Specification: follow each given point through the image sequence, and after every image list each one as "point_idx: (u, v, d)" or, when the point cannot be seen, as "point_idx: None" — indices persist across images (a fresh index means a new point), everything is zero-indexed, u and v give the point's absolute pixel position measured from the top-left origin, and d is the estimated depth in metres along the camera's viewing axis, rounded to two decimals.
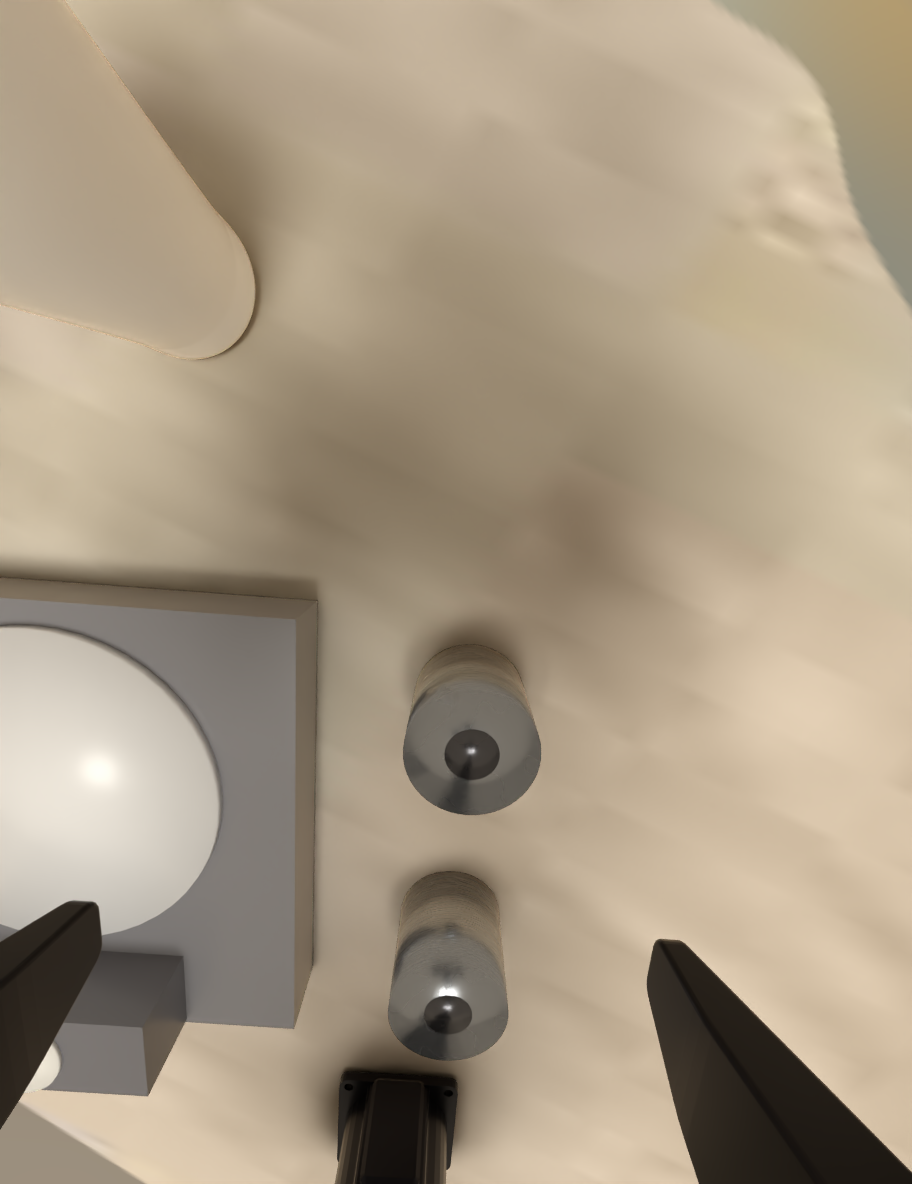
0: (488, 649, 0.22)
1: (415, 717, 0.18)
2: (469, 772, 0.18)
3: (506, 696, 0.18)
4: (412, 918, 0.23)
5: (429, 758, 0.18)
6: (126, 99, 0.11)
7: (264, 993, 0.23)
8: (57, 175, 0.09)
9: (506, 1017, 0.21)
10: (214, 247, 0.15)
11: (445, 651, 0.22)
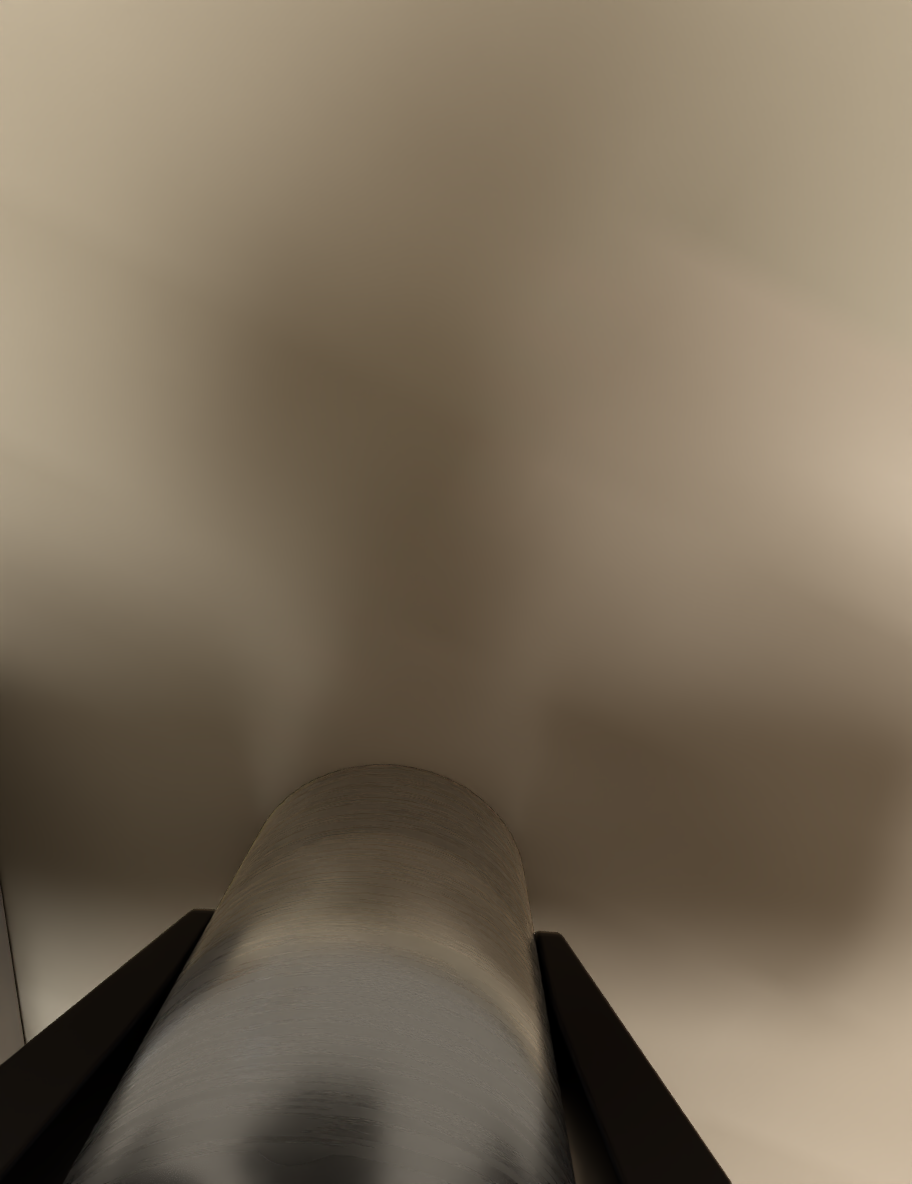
0: (429, 782, 0.08)
1: None
2: None
3: (450, 1144, 0.04)
4: None
5: None
6: None
7: None
8: None
9: None
10: None
11: (315, 787, 0.08)
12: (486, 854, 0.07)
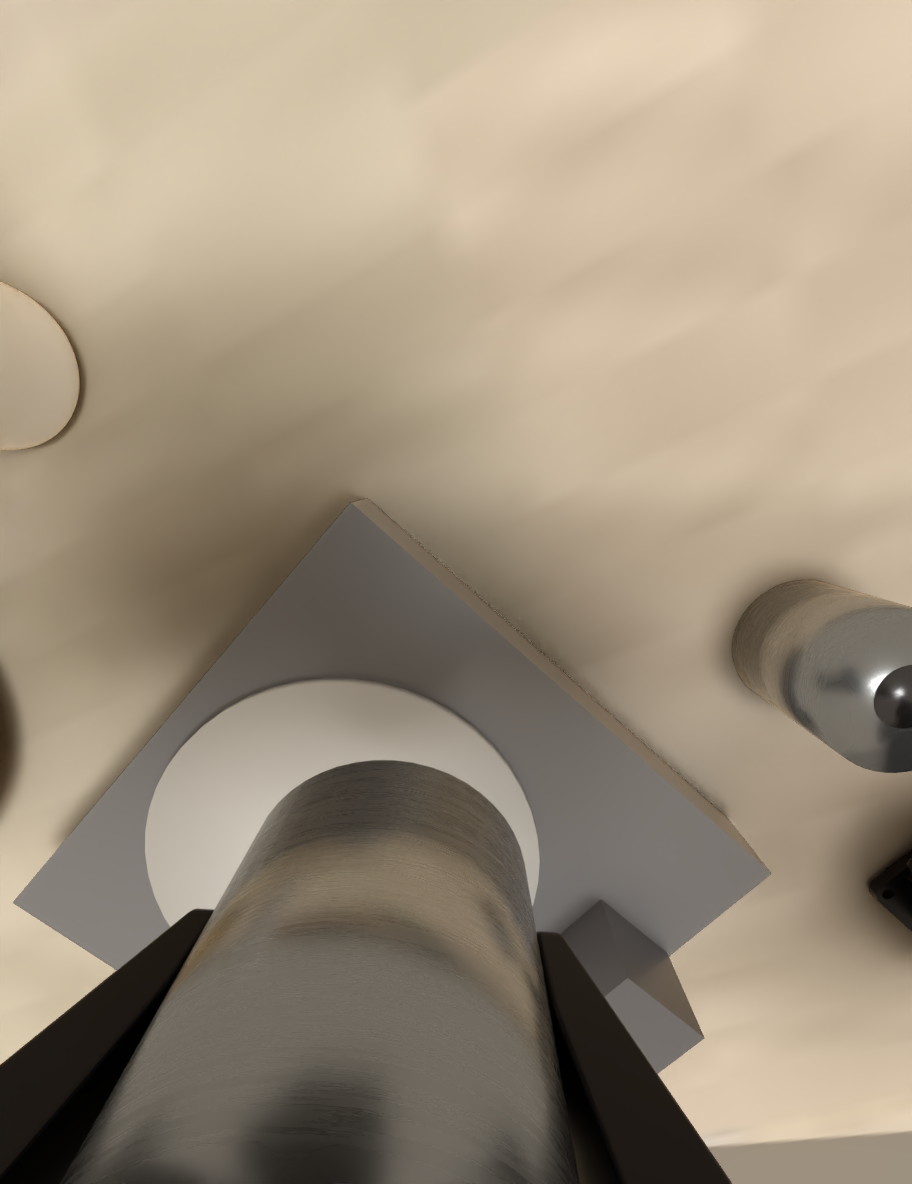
0: (431, 777, 0.08)
1: None
2: None
3: (452, 1135, 0.04)
4: (764, 668, 0.18)
5: None
6: None
7: (707, 865, 0.18)
8: None
9: None
10: None
11: (316, 782, 0.08)
12: (487, 848, 0.07)
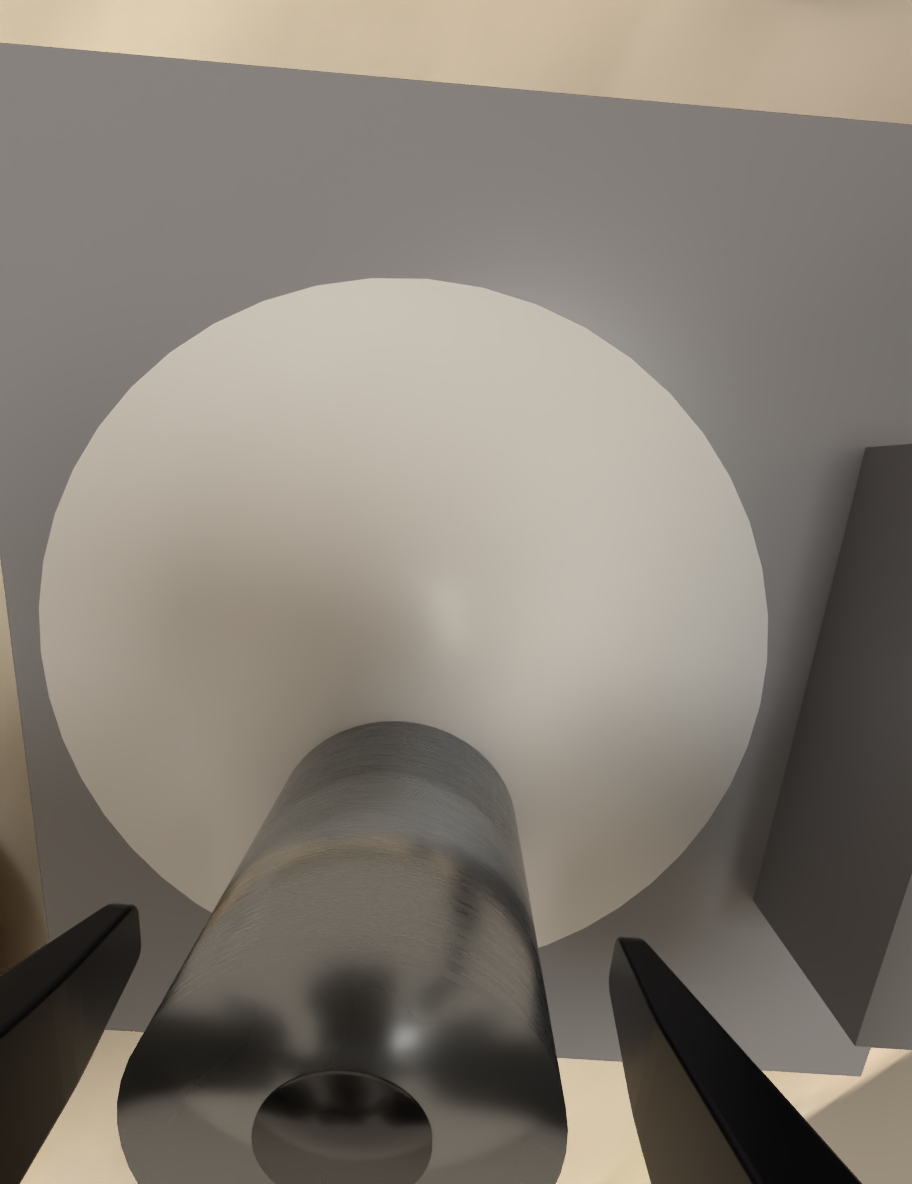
0: (434, 734, 0.10)
1: (146, 1032, 0.05)
2: (338, 1180, 0.06)
3: (453, 960, 0.05)
4: None
5: (207, 1146, 0.06)
6: None
7: None
8: None
9: None
10: None
11: (337, 739, 0.10)
12: (482, 791, 0.09)
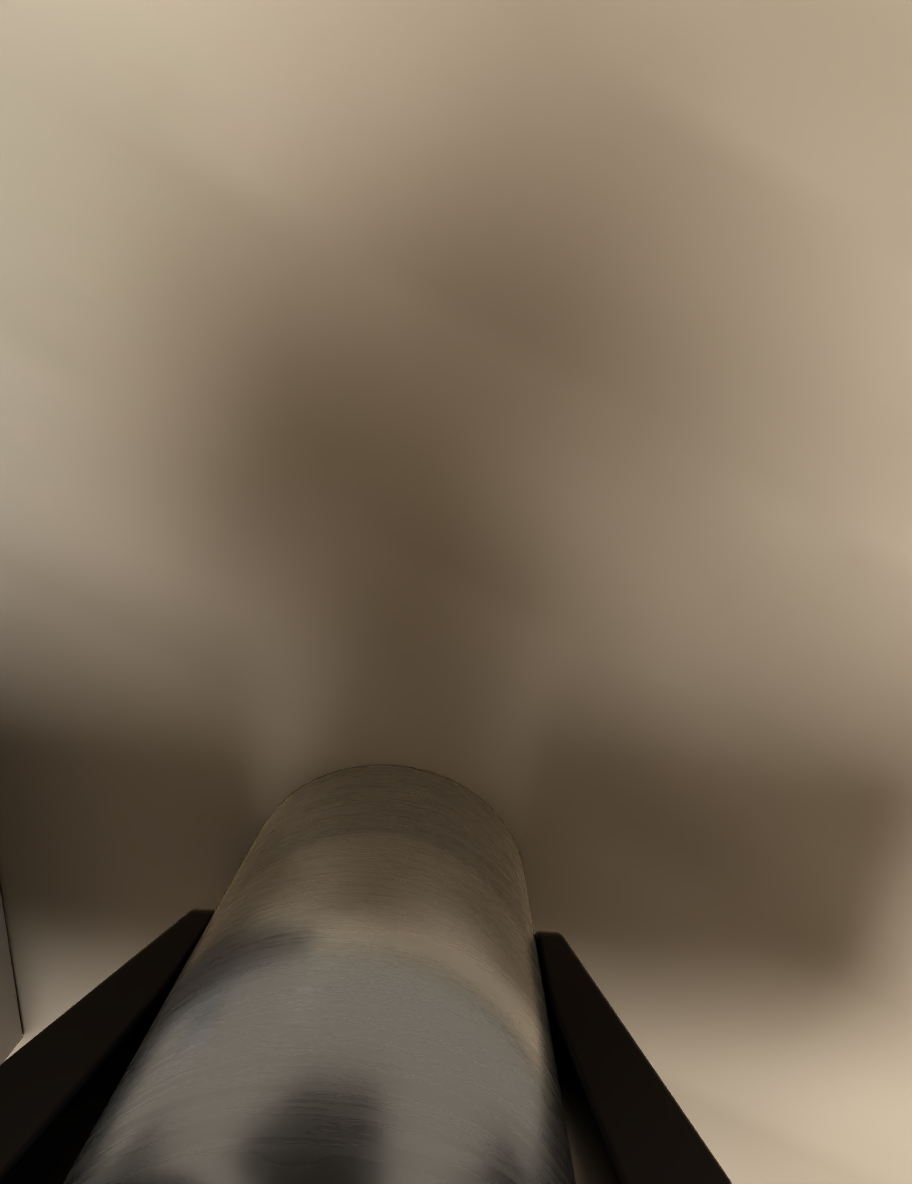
0: None
1: None
2: None
3: None
4: (229, 902, 0.07)
5: None
6: None
7: None
8: None
9: None
10: None
11: None
12: None
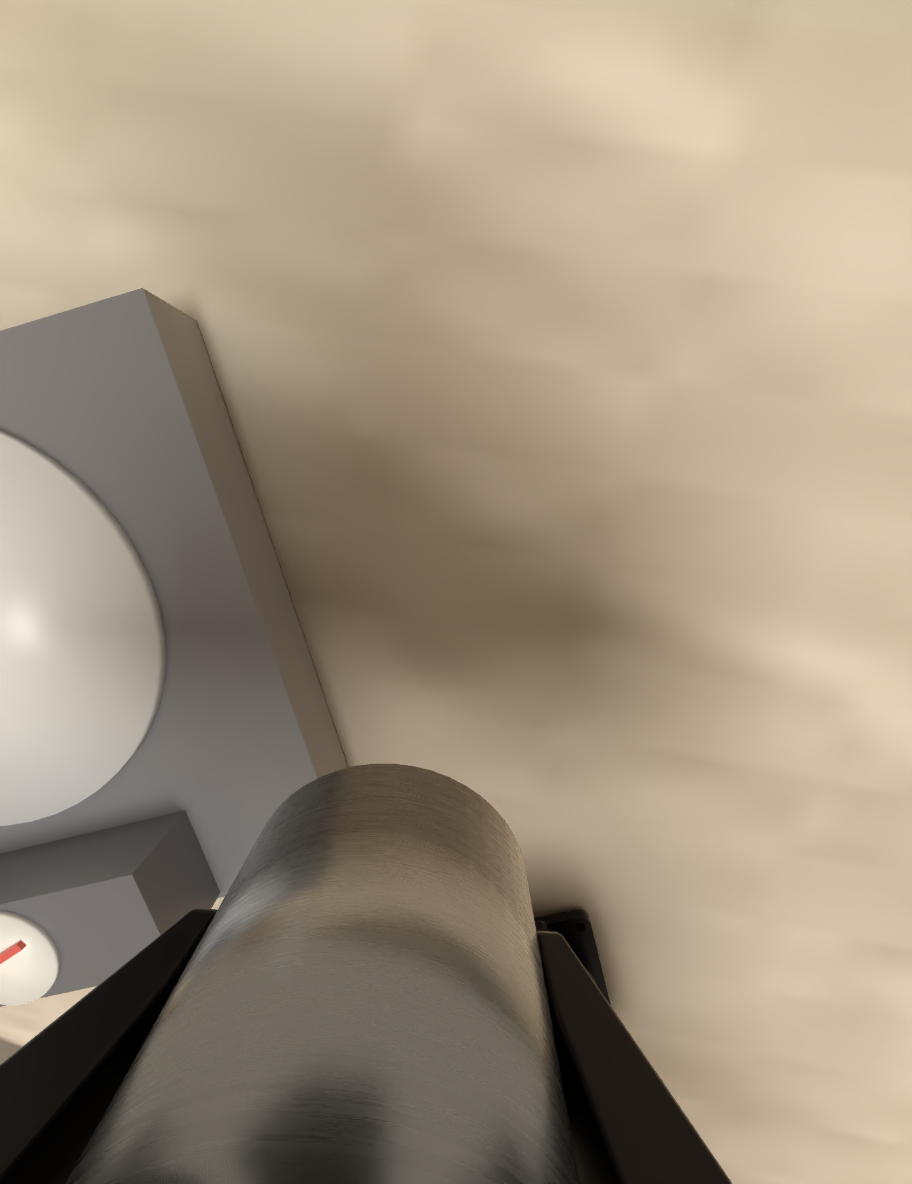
0: None
1: None
2: None
3: None
4: (231, 901, 0.07)
5: None
6: None
7: None
8: None
9: None
10: None
11: None
12: None
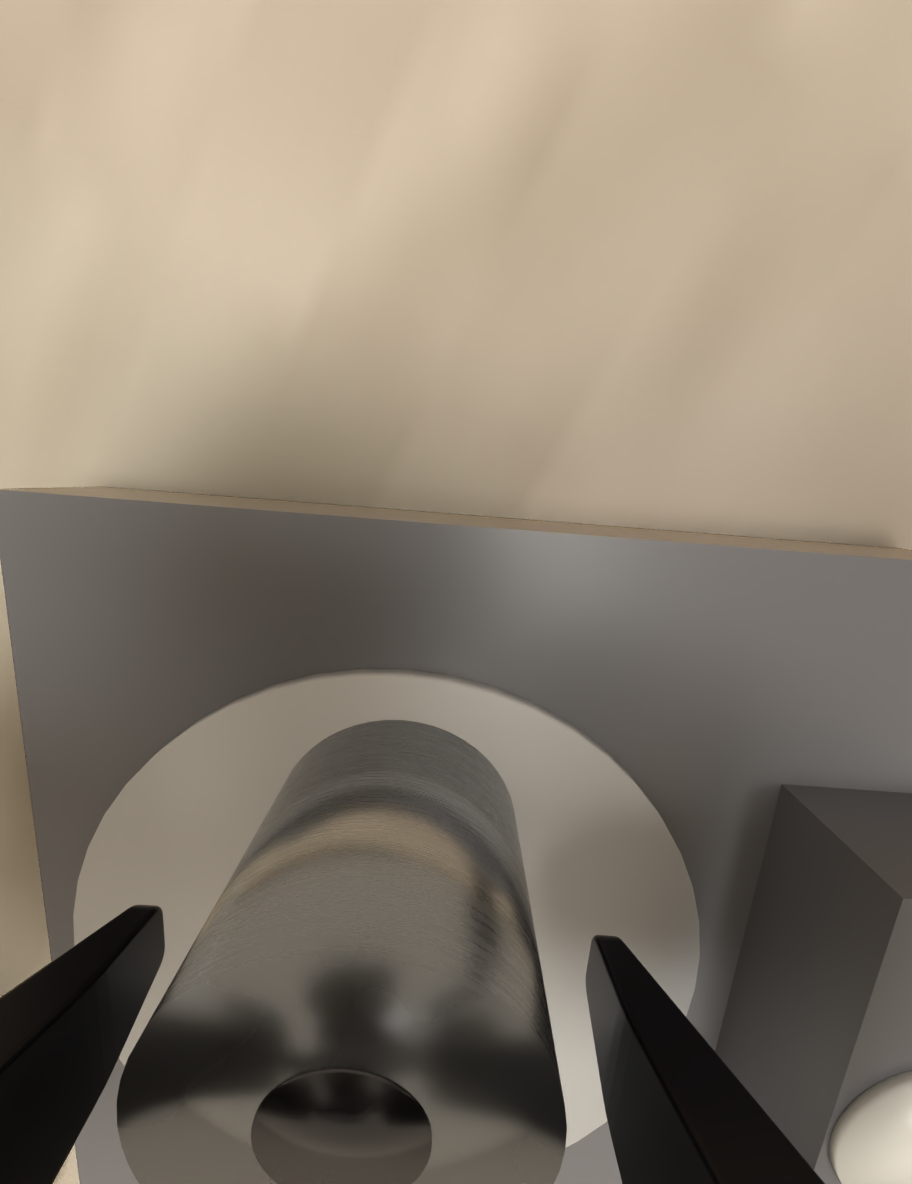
0: None
1: None
2: None
3: None
4: (270, 821, 0.08)
5: None
6: None
7: (911, 629, 0.10)
8: None
9: (560, 1147, 0.06)
10: None
11: None
12: None
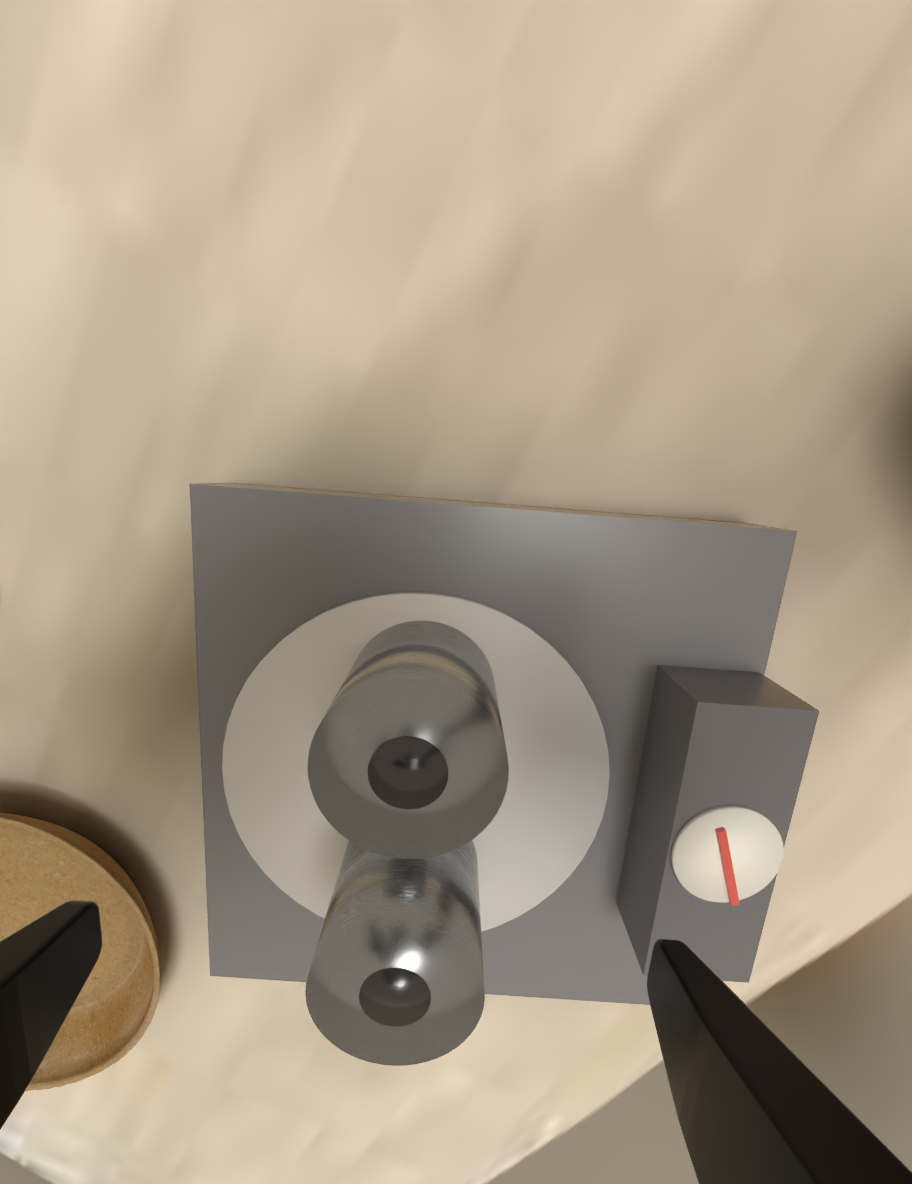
0: None
1: (318, 955, 0.14)
2: (393, 1016, 0.14)
3: (435, 924, 0.14)
4: (358, 662, 0.15)
5: (340, 1002, 0.14)
6: None
7: (729, 567, 0.17)
8: None
9: (505, 777, 0.12)
10: None
11: None
12: None
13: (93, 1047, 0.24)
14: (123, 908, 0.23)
